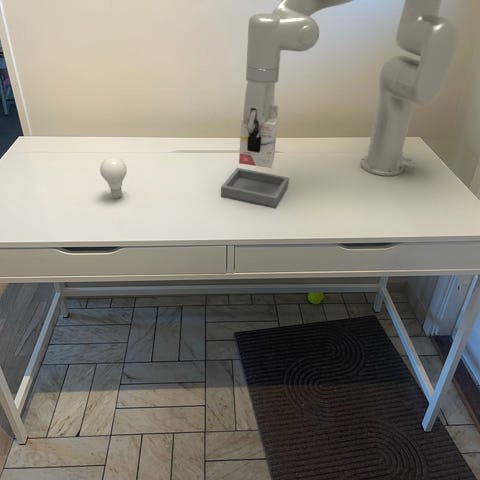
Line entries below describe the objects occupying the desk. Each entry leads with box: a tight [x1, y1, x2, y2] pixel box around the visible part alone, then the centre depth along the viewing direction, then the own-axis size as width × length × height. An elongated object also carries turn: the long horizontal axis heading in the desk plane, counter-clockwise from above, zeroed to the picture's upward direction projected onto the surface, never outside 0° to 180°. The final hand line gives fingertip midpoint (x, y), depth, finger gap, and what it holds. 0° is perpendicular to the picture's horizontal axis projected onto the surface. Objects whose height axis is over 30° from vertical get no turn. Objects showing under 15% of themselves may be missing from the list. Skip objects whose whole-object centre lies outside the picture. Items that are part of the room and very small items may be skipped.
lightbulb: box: [99, 156, 128, 199], centre depth 119 cm, size 6×6×11 cm
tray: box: [220, 167, 290, 209], centre depth 126 cm, size 15×12×3 cm
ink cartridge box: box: [238, 104, 279, 169], centre depth 117 cm, size 9×5×15 cm, turn 78°
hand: (257, 146), depth 119 cm, fingers closed on ink cartridge box, 5 cm apart
